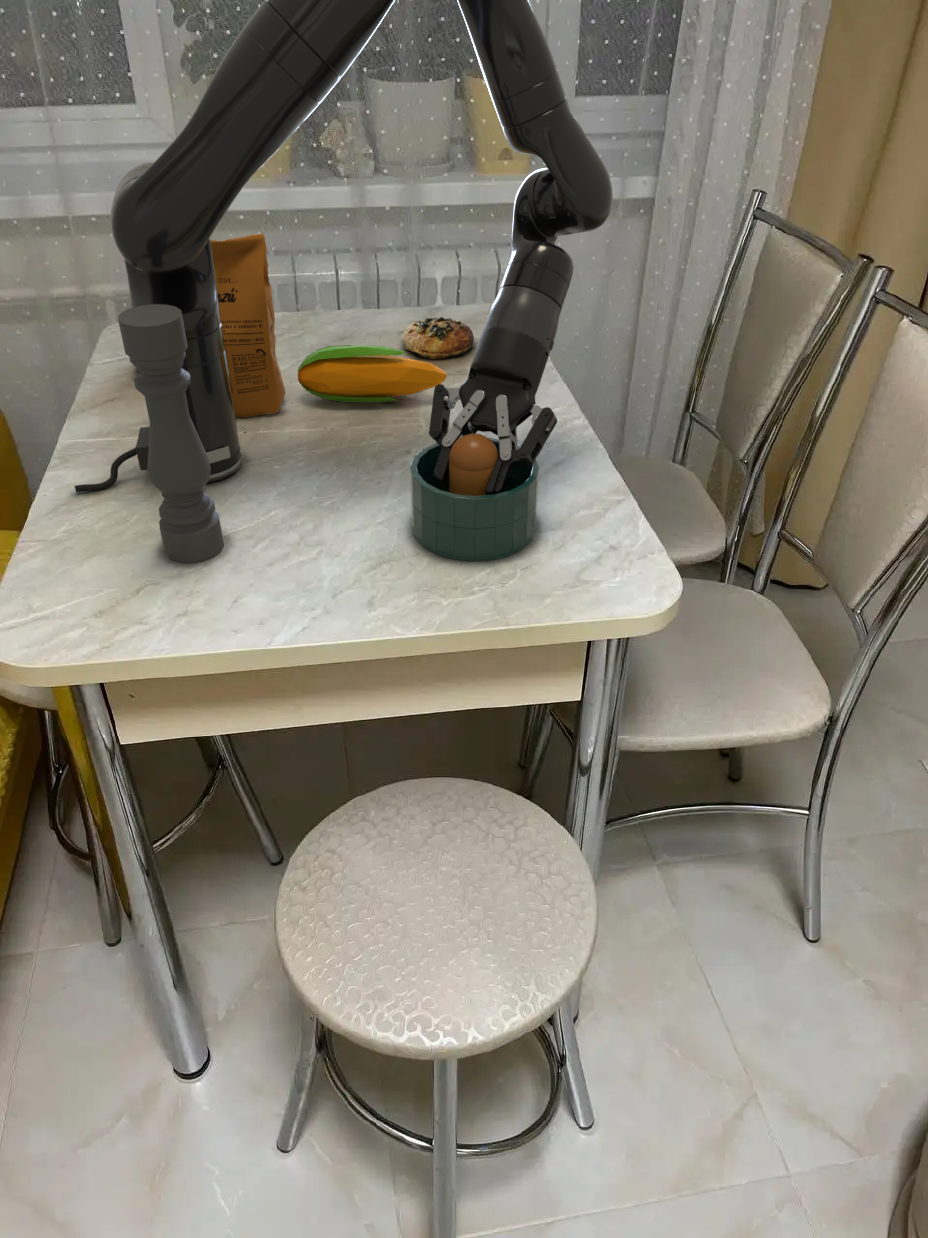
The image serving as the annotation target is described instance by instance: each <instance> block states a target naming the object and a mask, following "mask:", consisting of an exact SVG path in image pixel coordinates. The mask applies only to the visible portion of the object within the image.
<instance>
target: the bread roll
mask: <svg viewBox="0 0 928 1238" xmlns="http://www.w3.org/2000/svg"><path fill="white" fill-rule="evenodd" d="M401 339H402V343H403V344H404V347H405V350H407V351H411V352H412V353H415V354H418V355H419V356H421V357H424V358H429V359H433V360H436V359H442V360H443V359H446V358H448V357H451V356H456V355H457V356H458V355H461V354H464V353H465V352H467V351H469V350H470V349H471V348H472V346H473V344H474V340H475V337H474V332H473V330H472V329H471V327H470V326H469V325H467V324H466V323H464V322H461V321H460V320H459V319H457V320H455V319H452V318H451V317H449V318H444V317H443V316H438V317H434V316H431V317H425V318H424V319H422V320H416V321H415V322H413V323H410V324H409V325H408V327H407V328H405V330H404V331H403V335H402V337H401Z"/></svg>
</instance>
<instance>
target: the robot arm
mask: <svg viewBox="0 0 928 1238" xmlns="http://www.w3.org/2000/svg"><path fill="white" fill-rule="evenodd" d="M395 1H396V0H263V2H262V3H261V4H260V5H259V6H258V8H257V9H256V10H255V12H254V13H252V16H251V17H249V20H248V21H247V22H246V23H245V25H244V26H243V28H242V29H241V30H240V32H239V33H238V35H237V36H236V38H235V39H234V41H233V42H232V44H231V45H230V47H229V48H228V50H227V52H226V54H225V55H224V57H223V58H222V60H221V62H220V64H219V65H218V66H217V69H216V70H215V72H214V74H213V76H212V78H211V80H210V82H209V83H208V86H207V87H206V90H205V92H203V93H204V94H203V95H202V97H201V99H200V101H199V102H198V104H197V107H196V109H195V110H194V112H193V114H192V115H191V117H190V119H189V120H188V122H187V123H186V125H185V126H184V128H182V131H181V132H180V133H179V134H178V136H177V137H176V138H175V139H174V140H173V141H172V142H171V143H170V145H169V146H168V147H167V148H166V149H165V150H164V151H163V152H162V153H161V154H160V156H159V157H158V158H157V159H156V160H155V161H154V162H145V163H142V164H139V165H137V166H134V167H133V168H132V169H130V170H129V171H127V172H126V173H125V174H124V176H122V178H121V179H120V181H119V182H118V184H117V186H116V189H115V193H114V195H113V200H112V204H111V207H110V208H111V210H110V217H109V218H110V219H109V221H110V230H111V234H112V238H113V241H114V243H115V246H116V248H117V250H118V252H119V254H120V255H121V257H123V260H124V266H125V270H126V276H127V285H128V292H129V302H130V308H133V307H137V306H142V305H151V304H162V305H170V306H175V307H177V308H179V309H180V310H181V312H182V317H183V323H184V329H185V335H186V340H187V346H188V348H187V349H186V350H185V352H186V357H185V359H184V361H183V366H182V367H181V368H182V369H184V370H185V371H187V372H188V373H190V379H191V383H190V385H189V386H188V387H187V390H186V391H185V392H186V398H187V403H188V409H189V414H190V418H191V420H192V422H193V424H194V427H195V429H196V431H197V433H198V436H199V438H200V440H201V443H202V445H203V447H204V449H205V451H206V454H207V456H208V458H209V462H210V468H211V473H210V477H209V479H208V481H207V483H212V482H216V481H217V482H218V481H219V480H223V479H225V478H227V477H228V478H229V476H231V475H234V474H235V473H236V472H237V471H239V469H241V467H242V465H243V454H242V451H241V443H240V440H239V439H240V438H239V432H238V427H237V420H236V419H237V417H235V411H234V405H233V398H232V391H231V384H230V378H229V371H228V364H227V357H226V351H225V344H224V337H223V330H222V324H221V317H220V310H219V301H218V292H217V284H216V277H215V271H214V265H213V257H212V250H211V243H210V240H211V237H212V235H213V233H214V232H215V230H216V228H217V227H218V226H219V224H220V222H221V221H222V220H223V218H224V216H225V215H226V213H227V212H228V210H229V209H230V207H231V206H232V205H233V203H234V202H235V200H236V198H237V197H238V196H239V194H240V193H241V191H242V190H243V189H244V187H245V186H246V185H247V184H248V182H250V180H251V178H252V177H254V175H255V174H256V173H257V172H258V171H259V170H260V169H261V168H262V167H263V166H264V165H265V164H266V163H267V162H268V161H269V160H270V159H271V158H272V157H273V156H274V155H275V153H277V152H278V151H279V149H280V148H281V147H283V145H285V143H286V142H287V141H288V140H289V139H290V138H291V137H292V136H293V134H294V133H295V132H296V131H297V130H298V128H300V127H301V125H302V124H303V123H304V122H305V121H306V120H307V119H308V118H309V116H310V115H311V114H312V113H313V112H315V110H316V109H317V108H318V107H319V105H320V104H321V103H322V102H323V101H324V99H325V98H326V97H327V96H328V95H329V93H330V92H331V91H332V90H333V88H334V87H335V86H336V85H337V84H338V82H339V81H340V80H341V78H342V77H344V75H345V73H346V72H347V71H348V70H349V68H350V67H351V66H352V64H353V63H354V61H356V58H357V57H358V56H359V55H360V53H361V52H362V50H363V49H364V48H365V46H366V45H367V44H368V42H369V41H370V39H371V38H372V36H373V35H374V33H375V32H376V30H377V28H379V26H380V25H381V23H382V21H384V20H383V19H384V18H385V16H386V15H387V13H388V12H389V10H390V9H391V8H392V5H394V3H395ZM456 1H457V3H458V6H459V9H460V11H461V14H462V16H463V19H464V22H465V25H466V27H467V30H468V31H467V32H468V33H469V36H470V37H469V38H470V39H471V43H472V44H473V48H474V52H475V54H476V57H477V60H478V64H479V66H480V70H481V72H482V75H483V78H484V81H485V84H486V87H487V89H488V92H489V95H490V97H491V101H492V103H493V106H494V109H495V111H496V114H497V117H498V120H499V122H500V126H501V127H502V128H501V129H502V131H503V134H504V136H505V139H506V141H507V143H508V145H509V147H510V148H511V149H512V150H513V151H514V152H516V153H519V154H524V155H530V156H535V157H537V158H538V159H540V160H541V162H542V164H543V165H545V168H540V169H536V170H535V171H533V172H532V173H530V174H528V176H527V177H526V178H525V179H524V181H523V182H522V183H521V185H520V187H519V188H518V190H517V192H516V195H515V198H514V203H513V209H512V210H513V212H512V226H511V239H510V257H509V260H508V263H507V265H506V269H505V272H504V274H503V277H502V281H501V283H500V287H499V289H498V293H497V294H496V297H495V299H494V301H493V302H492V305H491V307H490V309H489V311H488V314H487V317H486V321H485V323H484V326H483V329H482V332H481V335H480V337H479V340H478V343H477V347H476V350H475V353H474V355H473V358H472V362H471V364H470V368H469V372H468V376H467V378H466V379H465V381H464V382H463V383H462V384H461V385H460V387H446V386H445V385H444V384H443V383H441V384H438V385H437V386H436V387H434V389H433V396H432V405H431V412H430V421H429V428H428V435H429V436H430V438H432V440H434V442H435V443H437V444H439V445H441V451H440V454H439V457H438V460H437V463H436V466H435V469H434V476H435V477H436V482H437V483H438V484H439V485H440V486H443V487H448V486H449V455H450V451H451V448H452V446H453V445H454V443H455V442H456V441H457V440H458V439H459V438H461V437H463V436H465V435H468V434H477V433H478V432H482V433H486V432H489V433H492V434H493V435H495V436H497V439H498V440H499V447H500V460H496V462H495V465H494V468H493V471H492V474H491V477H490V480H489V483H488V486H487V489H486V495H494V494H498V493H502V492H505V491H506V488H507V485H508V482H509V479H510V476H511V473H512V470H513V468H514V467H516V466H518V465H526V466H531V465H532V464H533V463H534V462H535V460H536V461H537V458H538V457H539V455H540V453H541V451H542V450H543V448H544V446H545V444H546V443H547V441H548V440H549V437H550V436H551V434H552V432H553V431H554V429H555V427H556V425H557V423H558V418H557V416H556V414H555V412H554V411H553V409H552V408H551V407H549V406H546V407H542V406H540V405H538V404H536V395H537V392H538V390H539V387H540V384H541V381H542V378H543V375H544V372H545V369H546V366H547V363H548V361H549V358H550V354H551V352H552V351H553V348H554V345H555V338H556V335H557V332H558V328H559V323H560V322H559V321H560V317H561V314H562V310H563V307H564V304H565V301H566V298H567V295H568V293H569V289H570V286H571V283H572V280H573V276H574V270H575V266H574V260H573V259H572V257H571V255H570V254H569V253H568V252H567V251H566V250H565V249H563V248H562V247H560V246H558V245H556V242H557V240H558V238H559V237H564V236H570V235H575V234H583V233H584V234H585V233H588V232H592V231H595V230H597V229H599V228H601V227H602V226H603V225H604V224H605V223H606V221H607V220H608V218H609V216H610V215H611V211H612V207H613V198H614V197H613V196H614V194H613V186H612V181H611V177H610V174H609V172H608V170H607V168H606V166H605V163H604V162H603V159H602V158H601V157H600V155H599V153H598V151H597V150H596V148H595V147H594V145H593V144H592V142H591V140H590V139H589V138H588V136H587V135H586V133H585V131H584V129H583V128H582V126H581V125H580V123H579V122H578V121H577V119H576V118H575V116H574V114H573V112H572V110H571V109H570V106H569V102H568V98H567V97H566V93H565V90H564V86H563V83H562V80H561V77H560V74H559V71H558V68H557V65H556V62H555V59H554V57H553V54H552V50H551V49H550V46H549V43H548V40H547V38H546V36H545V33H544V31H543V29H542V27H541V25H540V23H539V21H538V20H539V19H537V16H536V14H535V12H534V10H533V8H532V5H531V4H530V1H529V0H456ZM459 401H460V403H461V407H462V410H461V411H460V412H459V414H458V415H457V416H456V417H455V419H454V420H453V422H452V426H451V428H450V429H449V427H450V425H449V424H450V416H451V410H453V409H455V407H456V404H457V402H459ZM531 416H532V418H531ZM529 418H531V421H530V423H531V425H532V426H531V428H530V429H529V431H528V433H527V435H526V436H525V438H524V440H523V442H522V443H521V445H520V446H519V447H520V449H518V450H516V447H517V446H518V430H517V429H518V428H517V427H519V426H520V425H521V424H522V423H524V422H525V421H526V420H528V419H529ZM149 429H150V426H144V427H142V426H141V427H140V428H139V431H138V437H137V440H136V444H135V447H134V448H132V449H130V450H128V451H126V452H124V453H122V454H121V455H118V456H117V458H116V459H114V461H113V462H112V463H111V466H110V475H109V478H108V479H106V480H105V481H103V482H100V483H99V482H98V483H88V484H87V483H85V484H76V485H74V490H75V493H82V492H98V491H103V490H107V489H109V488H110V487H112V486H113V485H114V484H116V482H117V479H118V476H119V468H120V467H121V465H122V464H123V463H124V462H125V461H127V460H129V459H132V458H134V457H135V456H137V461H138V466H139V470H140V471H148V451H149Z"/></svg>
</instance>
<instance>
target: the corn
mask: <svg viewBox="0 0 928 1238" xmlns="http://www.w3.org/2000/svg"><path fill="white" fill-rule="evenodd" d="M404 353H405V351H404V350H400V349H396V348H394V347H393V348H392V347H387V346H382V345H380V346H379V345H349V344H348V345H347V344H346V345H329V346H328V345H327V346H325V347H322V348H319V349H316V350H315V351H313V352H312V353H310V354H309V355H307V356H306V357H305V359H303V361H302V363H301V364H300V365H299V367H298V368H297V371H296V372H297V381H298V383H299V385H301V388H303V389H304V390H305V391H306V392H309V393H310V394H311V395H314V396H316V397H318V398H320V399H324V400H327V401H334V402H339V403H386V402H387V403H389V402H397V401H398V399H396V398H394V397H402V396H408V395H414V394H417V393H420V392H423V391H426V390H430V389H432V388H435V387H436V386H437V385H438V384H443V383H444V382H445V381H446V379H447V377H448V374H447V373H446V372H445V371H444V370H443V369H441V368H440V367H438V366H436V365H434V364H432V363H430V362H427V361H423V360H416V359H411V358H407V357H400V356H403V354H404Z"/></svg>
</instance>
